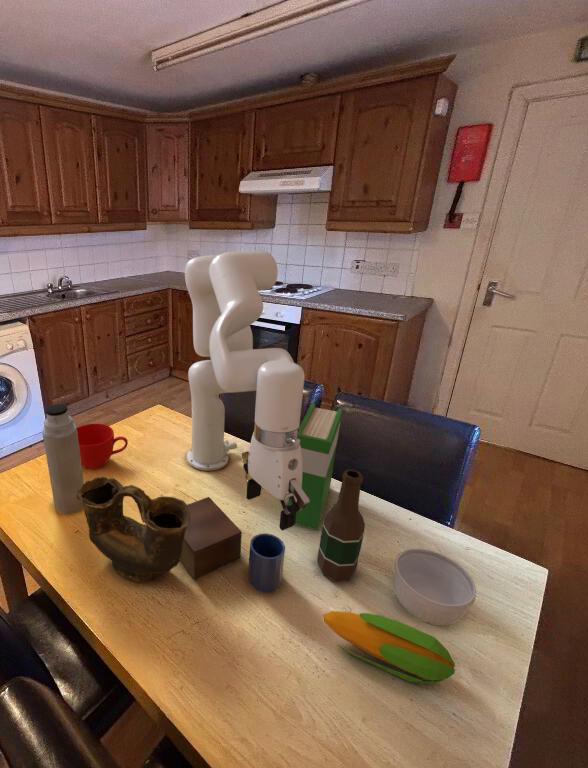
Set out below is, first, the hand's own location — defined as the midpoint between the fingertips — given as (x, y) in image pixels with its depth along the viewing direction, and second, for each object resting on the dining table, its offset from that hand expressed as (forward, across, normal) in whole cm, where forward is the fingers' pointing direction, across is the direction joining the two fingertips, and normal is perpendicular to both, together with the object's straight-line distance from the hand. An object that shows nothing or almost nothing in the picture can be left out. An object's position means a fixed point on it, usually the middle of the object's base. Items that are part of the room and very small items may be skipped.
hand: (269, 511), depth 78 cm
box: (+17, +13, +7) cm, 23 cm away
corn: (+18, -22, -7) cm, 29 cm away
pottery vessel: (+18, +16, +21) cm, 32 cm away
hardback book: (+17, +13, -25) cm, 33 cm away
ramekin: (+18, -19, -24) cm, 36 cm away
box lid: (+11, +13, +7) cm, 18 cm away
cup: (+18, 0, 0) cm, 18 cm away
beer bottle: (+18, -5, -15) cm, 24 cm away
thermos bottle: (+17, +43, +29) cm, 55 cm away
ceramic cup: (+17, +57, +16) cm, 62 cm away
